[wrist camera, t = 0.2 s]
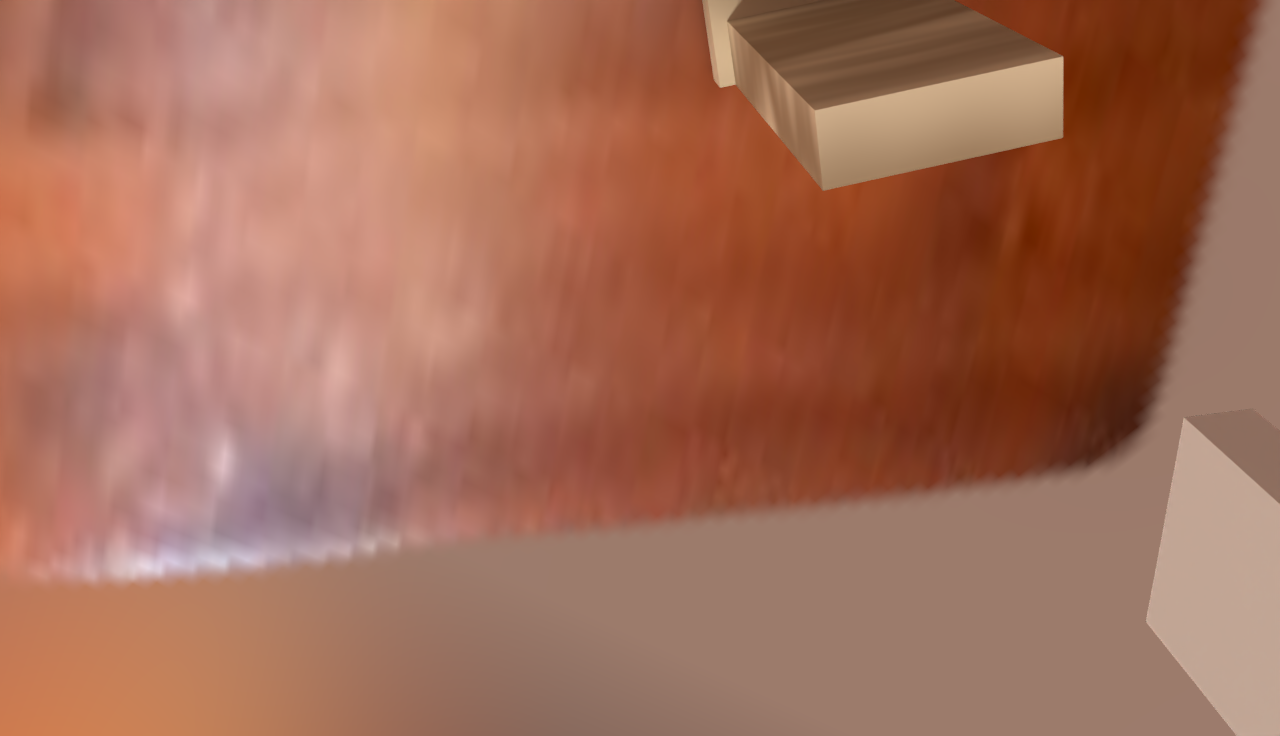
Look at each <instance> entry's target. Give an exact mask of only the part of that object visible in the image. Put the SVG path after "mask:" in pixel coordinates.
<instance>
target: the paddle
mask: <svg viewBox="0 0 1280 736" xmlns="http://www.w3.org/2000/svg"><path fill="white" fill-rule="evenodd" d="M702 1H703V8H704V15H705V22H706V29H707V35H708V42H709V49H710V56H711V63H712V70H713V76H714V80H715V82H716V83H717V84H718V86H719V87H720V88H721V87H726V86H731V85H735V84H736V86H737V87H738V88H739V89H740V90H741V92H742V93H743V94H744V95H745V96H746V98H747V99H748V100H749V101H750V103H751V104H752V105H753V106H754V107H755V109H756V110H757V111H758V112H759V113H760V115H761V116H762V117H763V118H764V120H765V121H766V122H767V123H768V124H769V126H770V127H771V128H772V129H773V130H774V132H775V133H776V134H777V135H778V136H779V138H780V139H781V140H782V141H783V143H784V144H785V145H786V146H787V147H788V149H789V150H790V151H791V152H792V153H793V155H794V156H795V157H796V158H797V160H798V161H799V162H800V163H801V164H802V166H803V167H804V168H805V169H806V170H807V172H808V173H809V174H810V175H811V176H812V178H813V179H814V180H815V181H816V183H817V184H818V185H819V186H820V187H821V189H822V190H823V191H824V190H828V189H833V188H837V187H842V186H846V185H851V184H856V183H860V182H865V181H869V180H874V179H878V178H883V177H887V176H892V175H896V174H901V173H905V172H910V171H914V170H919V169H924V168H928V167H933V166H937V165H942V164H946V163H951V162H955V161H960V160H964V159H969V158H973V157H978V156H982V155H987V154H992V153H996V152H1001V151H1005V150H1010V149H1014V148H1019V147H1023V146H1028V145H1032V144H1037V143H1041V142H1046V141H1050V140H1055V139H1060V138H1063V56H1062V55H1060V54H1058V53H1056V52H1054V51H1052V50H1050V49H1048V48H1046V47H1044V46H1042V45H1040V44H1038V43H1036V42H1034V41H1032V40H1030V39H1028V38H1026V37H1024V36H1023V35H1021V34H1019V33H1017V32H1015V31H1013V30H1011V29H1009V28H1007V27H1005V26H1003V25H1001V24H999V23H997V22H995V21H993V20H991V19H989V18H987V17H986V16H984V15H982V14H980V13H978V12H976V11H974V10H972V9H970V8H968V7H966V6H964V5H962V4H960V3H958V2H956V1H954V0H702Z"/></svg>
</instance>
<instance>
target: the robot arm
mask: <svg viewBox="0 0 1280 736" xmlns="http://www.w3.org/2000/svg"><path fill="white" fill-rule="evenodd" d="M1146 622H1147V624H1148V625H1149V626H1150V627H1151V629H1152V630H1153V631H1154V632H1155V634H1156V635H1157V636H1158V637H1159V639H1160V640H1161V641H1162V642H1163V644H1164V645H1165V646H1166V647H1167V649H1168V650H1169V651H1170V653H1171V654H1172V655H1173V656H1174V658H1175V659H1176V660H1177V661H1178V662H1179V664H1180V665H1181V666H1182V668H1183V669H1184V670H1185V671H1186V673H1187V674H1188V675H1189V676H1190V678H1191V679H1192V680H1193V681H1194V683H1195V684H1196V685H1197V686H1198V688H1199V689H1200V690H1201V691H1202V693H1203V694H1204V695H1205V696H1206V698H1207V699H1208V700H1209V701H1210V703H1211V704H1212V705H1213V706H1214V708H1215V709H1216V710H1217V711H1218V712H1219V714H1220V715H1221V716H1222V718H1223V719H1224V720H1225V721H1226V723H1227V724H1228V725H1229V726H1230V728H1231V729H1232V730H1233V731H1234V733H1235V734H1236V735H1237V736H1280V431H1279V430H1278V429H1277V428H1276V427H1274V426H1273V425H1272V424H1271V423H1270V422H1268V421H1267V420H1266V419H1265V418H1263V417H1262V416H1261V415H1260V414H1259V413H1257V412H1256V411H1255V410H1254V409H1246V410H1238V411H1230V412H1222V413H1214V414H1207V415H1199V416H1191V417H1184V420H1183V425H1182V431H1181V436H1180V442H1179V447H1178V452H1177V458H1176V463H1175V469H1174V474H1173V479H1172V484H1171V490H1170V495H1169V501H1168V506H1167V512H1166V516H1165V522H1164V528H1163V533H1162V538H1161V543H1160V549H1159V554H1158V559H1157V565H1156V570H1155V576H1154V581H1153V586H1152V592H1151V597H1150V602H1149V608H1148V613H1147V618H1146Z"/></svg>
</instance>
